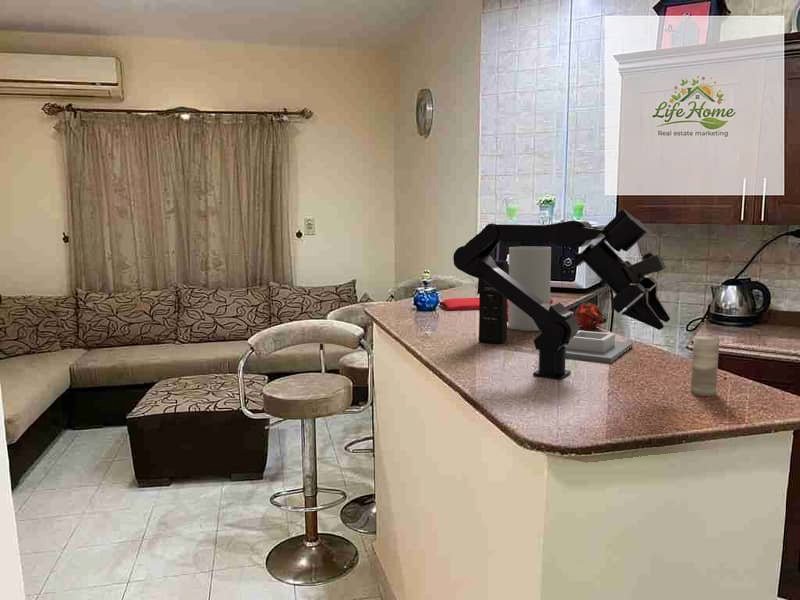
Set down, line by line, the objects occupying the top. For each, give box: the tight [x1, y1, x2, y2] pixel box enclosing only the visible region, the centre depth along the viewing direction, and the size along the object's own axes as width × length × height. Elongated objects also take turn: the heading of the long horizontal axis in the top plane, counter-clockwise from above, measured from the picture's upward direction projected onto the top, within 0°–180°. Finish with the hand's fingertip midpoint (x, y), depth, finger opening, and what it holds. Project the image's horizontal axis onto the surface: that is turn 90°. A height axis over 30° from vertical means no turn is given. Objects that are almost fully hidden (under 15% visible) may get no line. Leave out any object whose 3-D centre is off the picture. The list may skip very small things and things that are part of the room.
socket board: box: [565, 329, 634, 364], centre depth 156 cm, size 20×16×4 cm
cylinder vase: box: [507, 245, 552, 332], centre depth 187 cm, size 12×12×25 cm
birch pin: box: [690, 335, 720, 397], centre depth 118 cm, size 4×4×11 cm
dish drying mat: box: [438, 297, 554, 312], centre depth 234 cm, size 16×41×4 cm, turn 99°
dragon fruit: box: [574, 302, 607, 331], centre depth 186 cm, size 8×8×12 cm
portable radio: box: [477, 251, 509, 345], centre depth 168 cm, size 8×6×25 cm
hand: (665, 324), depth 121 cm, fingers open, 9 cm apart
